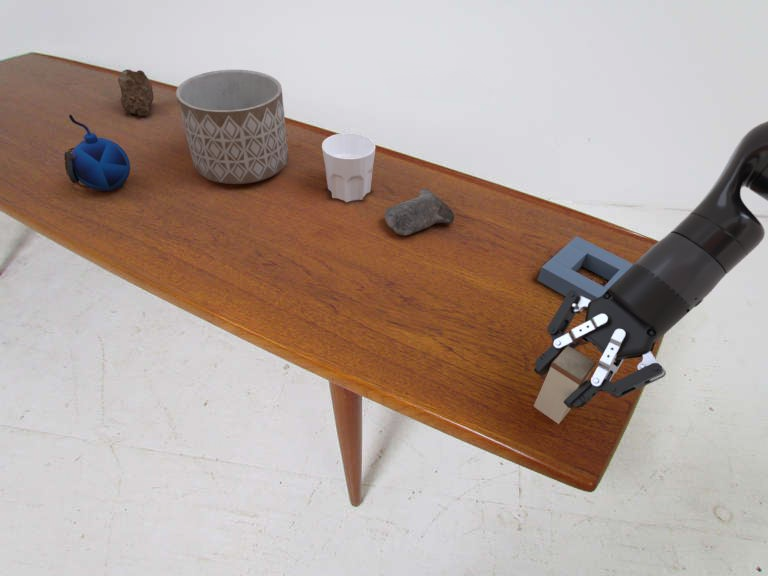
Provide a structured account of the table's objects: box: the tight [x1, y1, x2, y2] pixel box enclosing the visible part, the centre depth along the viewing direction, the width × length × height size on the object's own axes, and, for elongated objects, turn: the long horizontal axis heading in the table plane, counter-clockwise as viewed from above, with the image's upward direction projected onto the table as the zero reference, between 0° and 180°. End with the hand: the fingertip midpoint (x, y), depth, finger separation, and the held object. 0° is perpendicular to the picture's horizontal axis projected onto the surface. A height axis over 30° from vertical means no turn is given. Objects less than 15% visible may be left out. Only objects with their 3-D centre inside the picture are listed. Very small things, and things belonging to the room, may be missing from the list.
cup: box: [321, 132, 377, 203], centre depth 97 cm, size 10×10×10 cm
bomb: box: [64, 114, 131, 192], centre depth 92 cm, size 10×11×15 cm
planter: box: [175, 69, 289, 185], centre depth 100 cm, size 19×19×16 cm
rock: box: [117, 69, 154, 118], centre depth 119 cm, size 10×6×10 cm
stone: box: [384, 188, 455, 237], centre depth 93 cm, size 12×5×10 cm
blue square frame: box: [536, 235, 635, 300], centre depth 83 cm, size 13×12×3 cm
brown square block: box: [533, 346, 597, 425], centre depth 60 cm, size 4×4×9 cm
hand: (552, 388), depth 59 cm, fingers closed on brown square block, 4 cm apart
